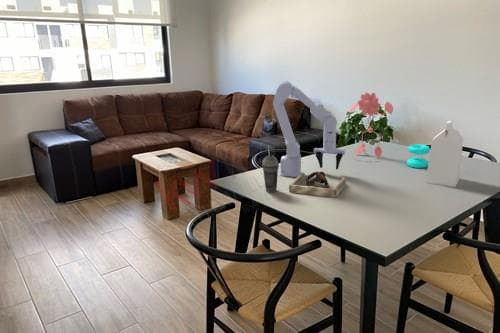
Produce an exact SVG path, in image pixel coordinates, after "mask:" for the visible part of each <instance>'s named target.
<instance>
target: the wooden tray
mask: <svg viewBox="0 0 500 333" xmlns="http://www.w3.org/2000/svg"><path fill="white" fill-rule="evenodd" d="M304 176H305V174H304V173H301V174H300V175H299V176H298V177H295V179H294V180H293V181H292V182H291V183H290V184H289V185H288V186H289V188H288V190H289V193H296V194H297V193H298V194H304V195H313V196H321V197H322V196H323V197H330V198H337V197H338V195H339V194H340V192H341V191H342V190H343V188H344V186H345V185H346V177H345V176H343V177H342V178H341V179H340V181H339V182H338V184H337V185H336V187H335V188H329V189H327V188H326V187H319V186H318V187H314V186H306V185H300V184H301V183H302V182H303V181H305V179H304Z"/></svg>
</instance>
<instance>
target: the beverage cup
mask: <svg viewBox="0 0 500 333" xmlns="http://www.w3.org/2000/svg"><path fill="white" fill-rule="evenodd" d="M267 151H268V155H267V156H265V157H264V158H263V160H262V162H261V163H262V164H261V168H262V171H263V178H264V187H265V192H267V193H276V192H277V188H278V174H279V166H280V164H279V160H278V158H276V157H275V156H274V155H271V152H270V145H269V144H268V145H267ZM275 191H276V192H275Z"/></svg>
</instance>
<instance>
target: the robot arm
mask: <svg viewBox="0 0 500 333" xmlns="http://www.w3.org/2000/svg"><path fill="white" fill-rule="evenodd" d="M275 91H276V92H275V93H274V94H275V95H274V98H273V102H272V105H273V109H274V112H275V115H276V118H277V120H278V123H279V126H280V129H281V133H282V135H283V138H284V142H285V147H286V154H285V155H282V156H281V158H280V164H279V165H280V174H279V175H280V176H283V177H284V176H285V177H291V178H292V177H293V178H297V177H298V176H299V175H300V174H301V173H304V172H305V171H303V170H302V155H301V149H300V148H301V146H300V143H299V142H298V141H297V140H296V138H295V135H294V132H293V129H292V126H291V123H290V119H289V117H288V114H287V111H286V107H285V105H284V104H285V103H286V100H287V99H288V98H289V97H290V98H295V99H298V100H299V101H300V102H301V103H303V104H304V105H305V106H306V107H308V108H309V109H310V110H309V111H310V114H311V115H312V116H313V117H315V118H316V119H318V121H319V122H322V123H323V133H322V134H323V136H322V137H323V143H322V145H323V147H314V148H313V153H314V154H315V157H316V159H317V161H318V165H319V169H322V168H323V164H324V163H323V158H324V157H323V156H324V154H328V155H330V154H331V155H335V170H339V167H340V163H341V160H342V158H343V156H345V155H346V149H339V148H337V147H336V145H337V143H336V142H337V125H338V121H337V118H336V116H335V115H334V113H332V111H330V110H327V109H326V108H325V107H324V104H323V103H321V104H320V102H316V103H315V102H314V101H313V100H312V99H311V98H310V97H309V96H307V95H306V94H305V93H304V92H303V91H302V90H301V89H300V88H298V87H297V86H296V85H294V84H292V83H291V82H290V81H288V80H285V81H282V82H281V83H280V84H279V85H278V87H277V89H276V90H275Z"/></svg>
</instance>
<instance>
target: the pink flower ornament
mask: <svg viewBox="0 0 500 333" xmlns="http://www.w3.org/2000/svg"><path fill="white" fill-rule="evenodd" d="M360 98H361V99H359V100H357V102H356V103H355V104H353V105H352V106H351V108H350V109H349V111H348V113H349V114H350V113H351V112H353V111H354V110H355V109H356V108H357V107H358V110H359V111H362V112H361V113H362V116H367V115H369V116H368V117H367V122H368V127H369V128H368V129H367V130H365V131H363V132H361V144H360V145H358V147H357V149H356V151H355V152H356V156H357V155H360V154H361V153H362V152H363V153H364V154H366V151H365V150H366V149H365V148H366V145H365V143H364V140H363V139H364V138H363V136H364V135H363V134H364V133H367V132H368V133H374V134H376V135H379V141H378V145H377V146H375V149H374V152H373V153H374V155H375V156H376V158H377V159H379V158H380V157H381V156H382V152H383V150H382V148H381V147H380V143H381V138H382V135H381V134H380V133H378V132H376V131H374V129H373V127H371V125H370V120H369V119H370V118H371V117H372V116H374V115H381V116H385V114H386V112H387V113H388V114H390V115H392V114H393V111H394V106H393V104H392V103H391V102H389V101H386V102H385V104H384V111H383V113H379V112H378V109H379V108H380V107H381V106H382V105H381V103H380V102H379V98H378V97H377V96H376V93H375V92H371V93H368V92H365V93H363V94H360ZM354 160H356V161H357V159H356V158H354ZM358 161H359V162H362V160H361V159H360V160H359V159H358ZM365 162H369V163H371V160H370V161H367V160H365ZM377 162H378V163H379V162H381V161H377V160H376V161H375V163H377Z"/></svg>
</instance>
